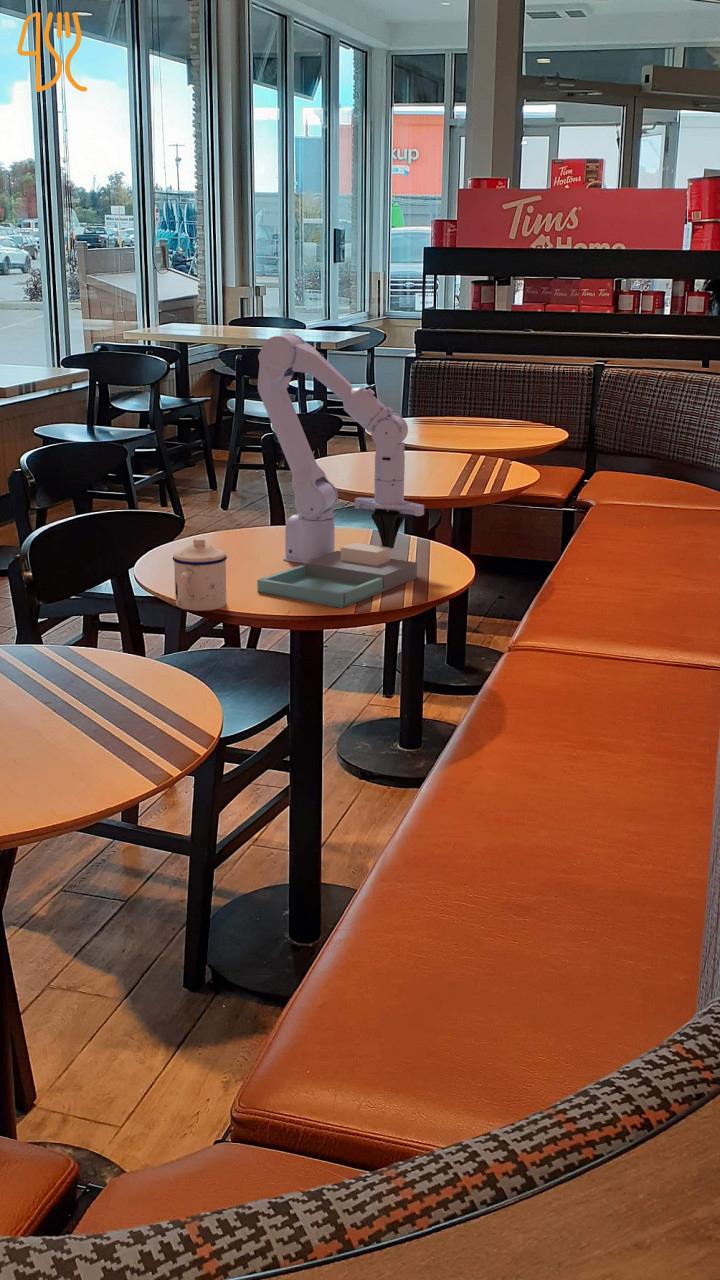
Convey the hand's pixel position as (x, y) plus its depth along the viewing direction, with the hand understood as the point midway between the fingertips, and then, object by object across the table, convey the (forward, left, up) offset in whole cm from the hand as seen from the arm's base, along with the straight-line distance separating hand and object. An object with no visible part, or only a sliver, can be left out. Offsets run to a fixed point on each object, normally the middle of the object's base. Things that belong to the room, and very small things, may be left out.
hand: (388, 548), depth 223 cm
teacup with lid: (-12, -44, -4) cm, 46 cm away
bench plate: (0, -10, -4) cm, 11 cm away
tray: (0, -23, -4) cm, 24 cm away
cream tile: (0, -8, -1) cm, 8 cm away
